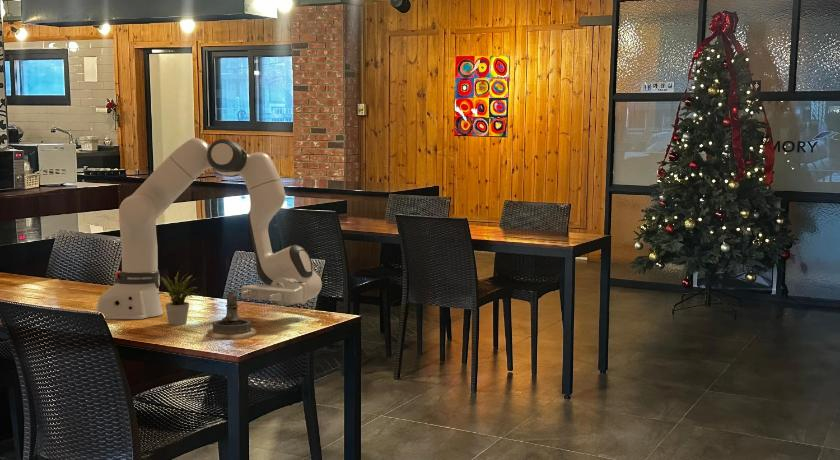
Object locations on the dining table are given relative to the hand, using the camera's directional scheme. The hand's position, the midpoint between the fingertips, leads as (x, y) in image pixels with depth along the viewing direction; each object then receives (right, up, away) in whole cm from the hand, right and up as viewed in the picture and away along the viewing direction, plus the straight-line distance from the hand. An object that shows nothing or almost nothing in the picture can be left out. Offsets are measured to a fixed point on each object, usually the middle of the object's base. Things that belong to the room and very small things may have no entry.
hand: (255, 296), depth 278 cm
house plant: (-26, -9, +6) cm, 28 cm away
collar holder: (-5, -10, -9) cm, 14 cm away
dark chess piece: (-5, -10, -9) cm, 14 cm away
